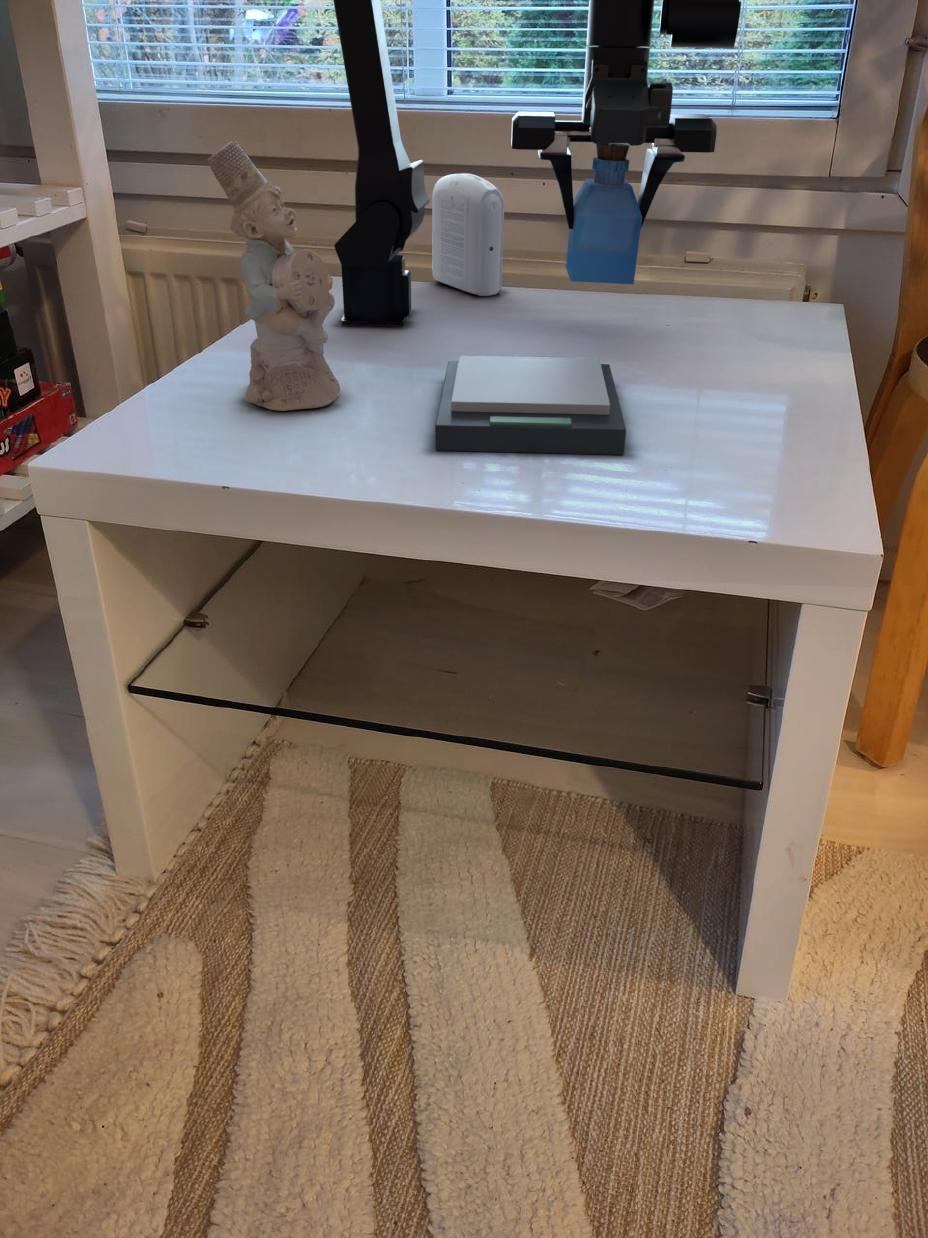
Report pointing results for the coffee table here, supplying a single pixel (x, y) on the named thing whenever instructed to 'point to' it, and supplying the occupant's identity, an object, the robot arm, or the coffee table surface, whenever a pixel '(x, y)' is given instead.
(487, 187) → the photo printer
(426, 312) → the coffee table surface
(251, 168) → the figurine
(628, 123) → the robot arm
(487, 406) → the scale
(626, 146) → the perfume bottle
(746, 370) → the coffee table surface
